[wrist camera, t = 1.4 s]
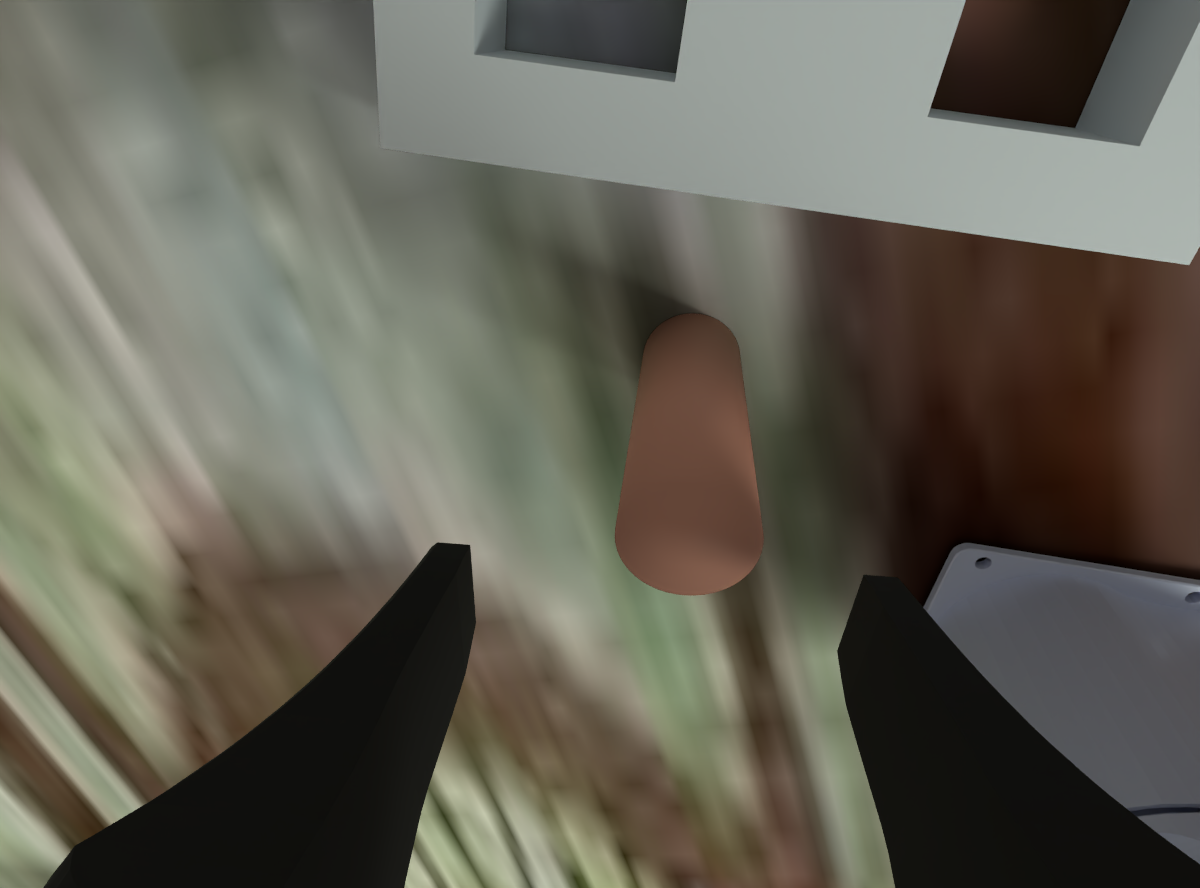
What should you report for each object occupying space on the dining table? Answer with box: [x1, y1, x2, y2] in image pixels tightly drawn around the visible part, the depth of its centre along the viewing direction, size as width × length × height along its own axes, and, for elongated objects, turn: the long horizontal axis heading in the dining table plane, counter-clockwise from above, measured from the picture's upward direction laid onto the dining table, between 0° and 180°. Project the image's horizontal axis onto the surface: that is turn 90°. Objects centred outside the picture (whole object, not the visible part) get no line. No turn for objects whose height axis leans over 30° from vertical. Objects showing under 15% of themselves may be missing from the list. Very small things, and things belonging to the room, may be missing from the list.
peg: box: [615, 313, 764, 595], centre depth 18 cm, size 3×3×9 cm
